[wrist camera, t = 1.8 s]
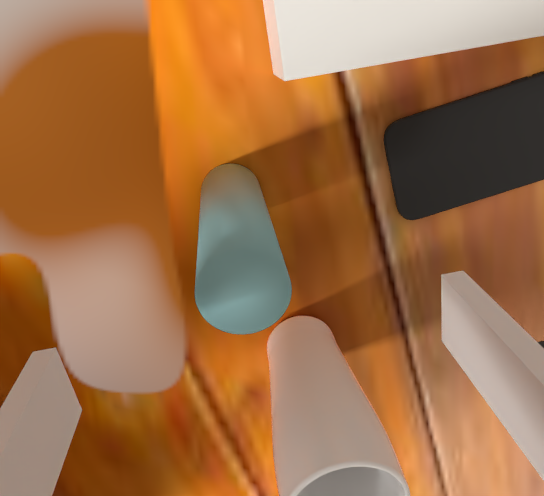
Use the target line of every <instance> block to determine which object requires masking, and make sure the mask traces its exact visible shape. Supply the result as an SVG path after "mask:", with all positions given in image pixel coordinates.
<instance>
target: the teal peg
mask: <svg viewBox="0 0 544 496" xmlns="http://www.w3.org/2000/svg"><path fill="white" fill-rule="evenodd" d="M291 294H292V287H291V281H290V277H289V274H288V271H287V268H286V265H285V262H284V259H283V255H282V252H281V249H280V246H279V243H278V240H277V237H276V234H275V231H274V228H273V225H272V221H271V218H270V215H269V212H268V209H267V206H266V203H265V200H264V197H263V194H262V191H261V187H260V184H259V182H258V179H257V178H256V176H255V175H254V174H253V172H252V171H250V170H249V169H248V168H246V167H244V166H242V165H239V164H233V163H229V164H223V165H220V166H217V167H216V168H214V169H213V170H211V171H210V172H209V173H208V174H207V176H206V177H205V179H204V181H203V183H202V188H201V201H200V217H199V233H198V248H197V264H196V280H195V301H196V305H197V307H198V310H199V312H200V313H201V315H202V316H203V318H204V319H205V320H206V321H207V322H208V323H210V324H211V325H212V326H214V327H215V328H217V329H219V330H221V331H224V332H227V333H232V334H251V333H255V332H259V331H261V330H264V329H266V328H268V327H270V326H271V325H273V324H274V323H275V322H276V321H278V320H279V319H280V318H281V316H282V315H283V314H284V313H285V311H286V309H287V307H288V305H289V303H290V299H291Z"/></svg>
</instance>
